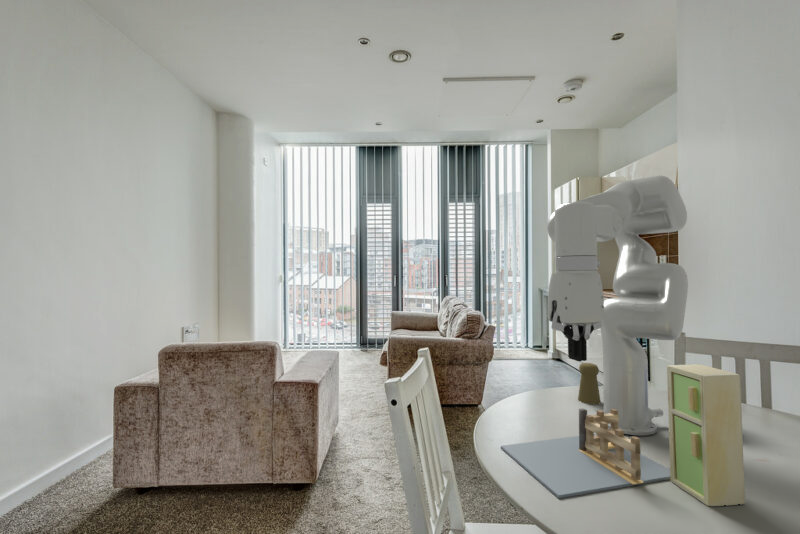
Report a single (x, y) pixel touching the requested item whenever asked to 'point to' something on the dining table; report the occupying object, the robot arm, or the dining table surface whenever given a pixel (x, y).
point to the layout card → (579, 467)
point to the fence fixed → (598, 418)
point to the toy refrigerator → (706, 433)
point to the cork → (589, 384)
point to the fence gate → (620, 445)
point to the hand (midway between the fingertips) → (577, 359)
